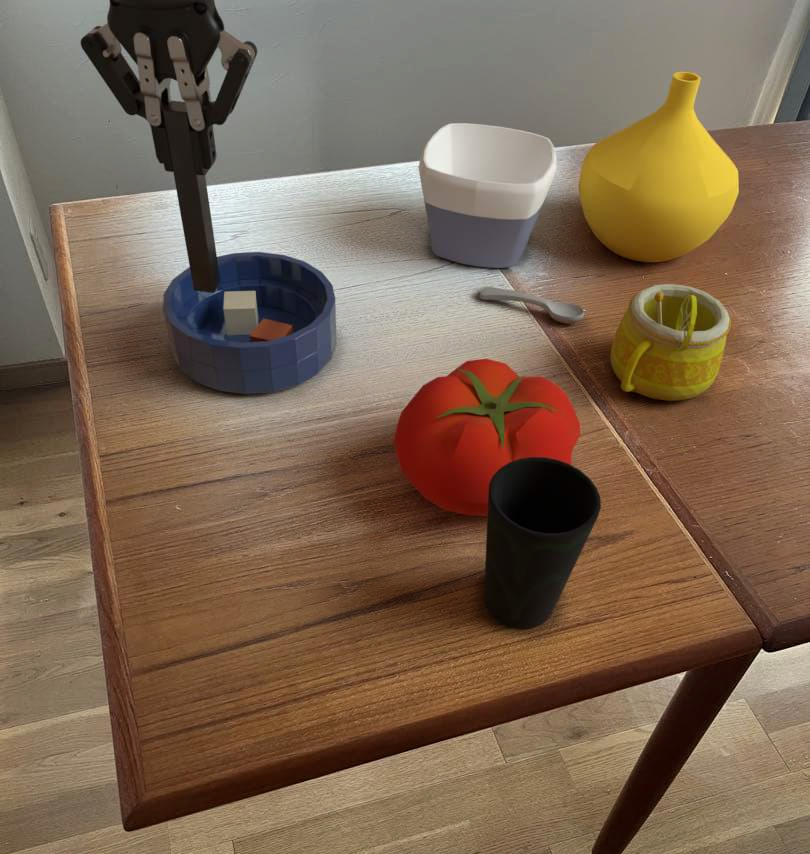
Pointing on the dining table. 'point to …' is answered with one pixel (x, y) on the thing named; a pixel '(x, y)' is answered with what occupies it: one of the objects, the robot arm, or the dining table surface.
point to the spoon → (555, 309)
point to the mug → (670, 342)
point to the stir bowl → (276, 300)
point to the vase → (659, 182)
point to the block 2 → (270, 331)
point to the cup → (534, 537)
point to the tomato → (480, 431)
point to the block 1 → (240, 312)
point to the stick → (192, 201)
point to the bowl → (484, 191)
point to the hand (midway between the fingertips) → (188, 168)
